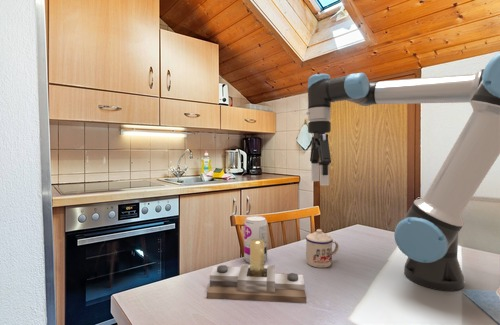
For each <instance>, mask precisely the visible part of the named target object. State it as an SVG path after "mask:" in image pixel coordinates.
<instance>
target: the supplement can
mask: <svg viewBox="0 0 500 325" xmlns="http://www.w3.org/2000/svg"><path fill="white" fill-rule="evenodd" d="M243 223H244V224H243V225H244V226H243V228H244V229H243V240H244V241H243V250H244V251H243V253H244V254H243V259H244V260H245V261H246V263H248V264H250V240H252V239H262V240H264V263H265V262H266V261H267V260H268V221H267V219H266V217H264V216H259V215H252V216H247V217H246V218H245V220H244V222H243Z"/></svg>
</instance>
